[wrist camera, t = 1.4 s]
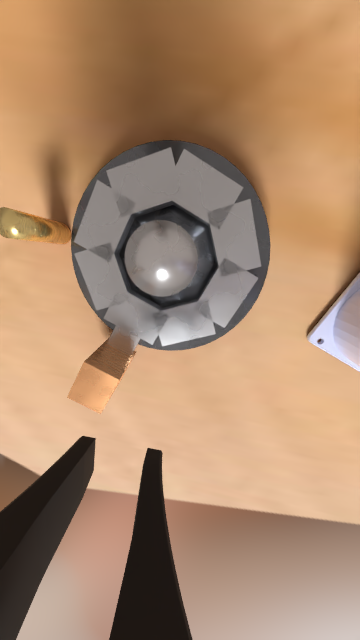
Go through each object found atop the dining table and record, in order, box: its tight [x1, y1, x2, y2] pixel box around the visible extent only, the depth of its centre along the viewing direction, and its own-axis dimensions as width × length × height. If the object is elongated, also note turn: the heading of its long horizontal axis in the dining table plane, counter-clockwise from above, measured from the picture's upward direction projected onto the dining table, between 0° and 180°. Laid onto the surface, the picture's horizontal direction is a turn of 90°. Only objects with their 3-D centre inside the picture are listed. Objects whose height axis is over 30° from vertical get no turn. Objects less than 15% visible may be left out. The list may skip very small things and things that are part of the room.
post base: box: [71, 140, 270, 350], centre depth 14 cm, size 14×14×6 cm
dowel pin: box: [0, 207, 71, 244], centre depth 14 cm, size 2×2×5 cm
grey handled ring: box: [67, 147, 261, 414], centre depth 13 cm, size 16×12×4 cm
